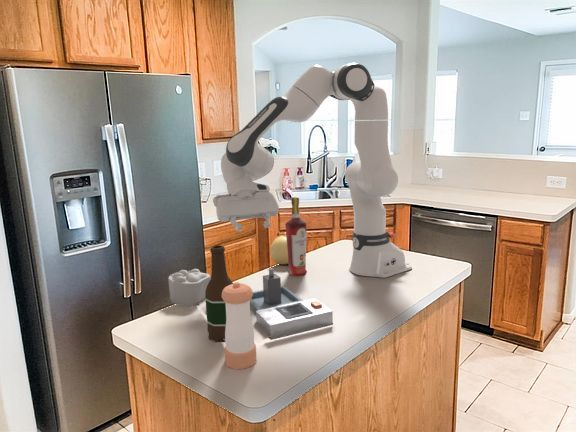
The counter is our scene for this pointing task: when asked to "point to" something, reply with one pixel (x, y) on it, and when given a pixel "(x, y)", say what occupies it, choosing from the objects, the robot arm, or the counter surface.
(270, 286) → the plug
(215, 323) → the beer bottle
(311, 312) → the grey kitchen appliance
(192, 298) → the lumpy-topped squat cylinder
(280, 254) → the sculpture
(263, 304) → the tray
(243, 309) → the pepper shaker
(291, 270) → the liquor
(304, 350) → the counter surface
